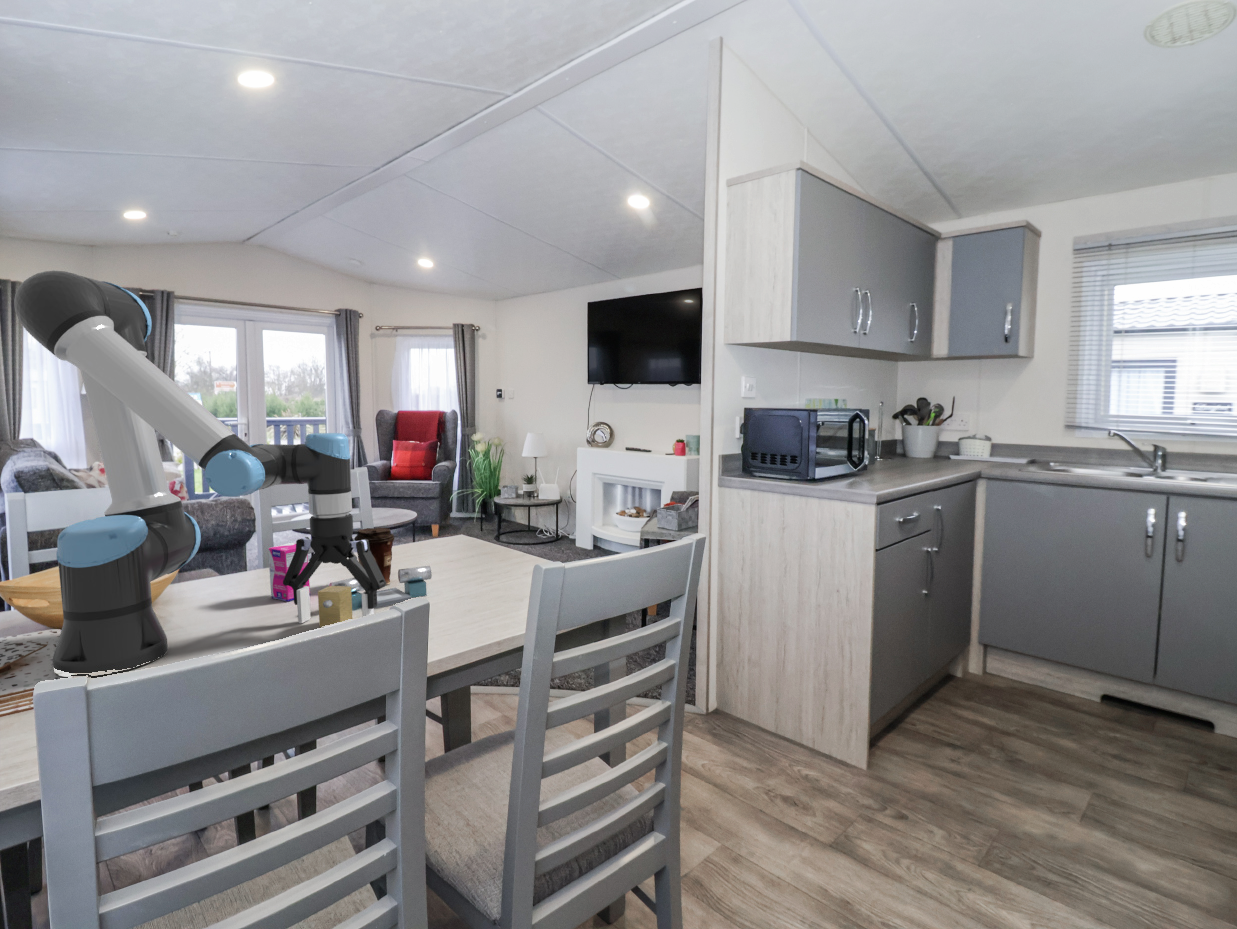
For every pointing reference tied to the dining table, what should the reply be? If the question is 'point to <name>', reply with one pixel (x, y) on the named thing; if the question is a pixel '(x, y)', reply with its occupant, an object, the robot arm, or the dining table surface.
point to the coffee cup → (379, 548)
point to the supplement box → (282, 571)
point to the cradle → (390, 597)
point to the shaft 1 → (352, 591)
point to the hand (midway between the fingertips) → (336, 623)
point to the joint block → (334, 604)
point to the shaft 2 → (415, 580)
